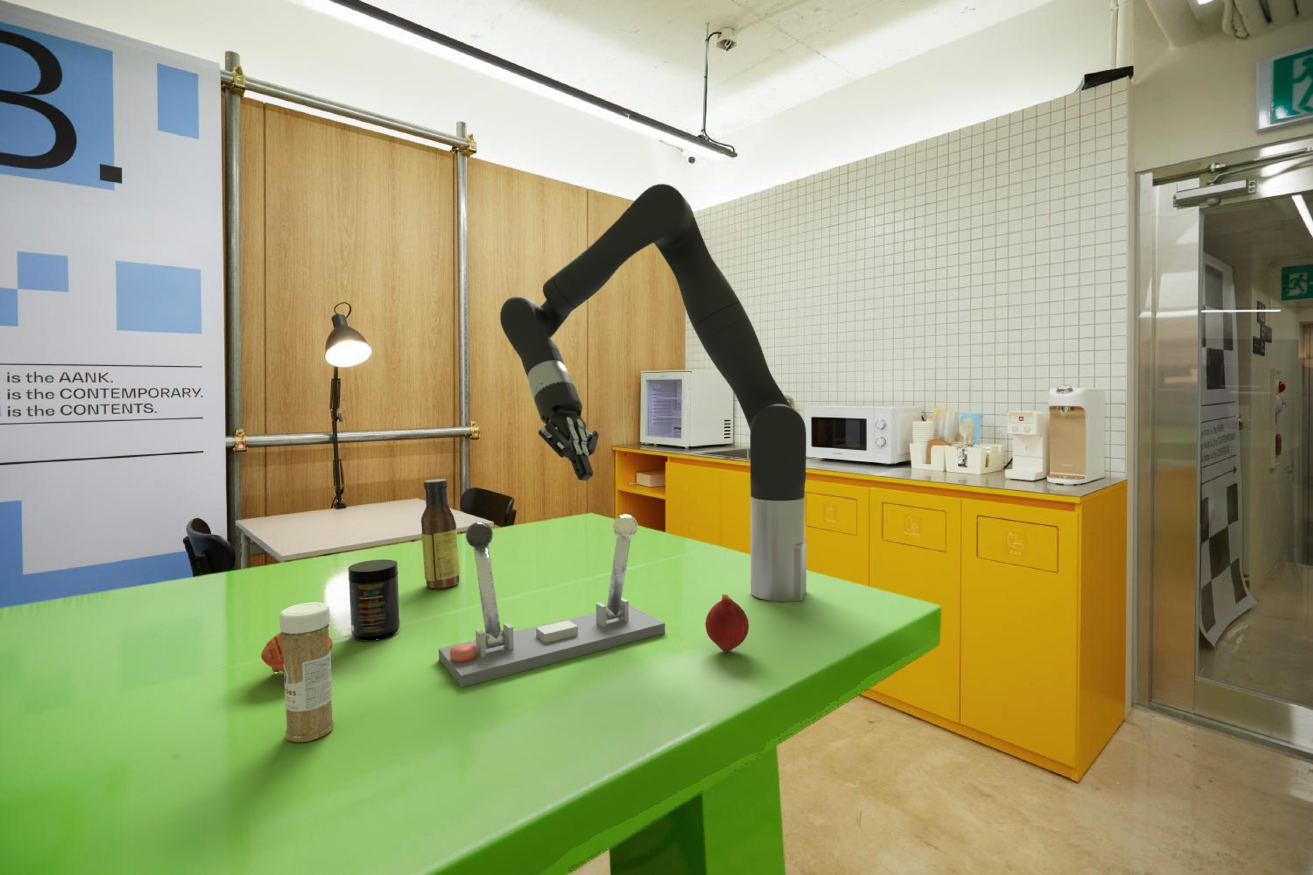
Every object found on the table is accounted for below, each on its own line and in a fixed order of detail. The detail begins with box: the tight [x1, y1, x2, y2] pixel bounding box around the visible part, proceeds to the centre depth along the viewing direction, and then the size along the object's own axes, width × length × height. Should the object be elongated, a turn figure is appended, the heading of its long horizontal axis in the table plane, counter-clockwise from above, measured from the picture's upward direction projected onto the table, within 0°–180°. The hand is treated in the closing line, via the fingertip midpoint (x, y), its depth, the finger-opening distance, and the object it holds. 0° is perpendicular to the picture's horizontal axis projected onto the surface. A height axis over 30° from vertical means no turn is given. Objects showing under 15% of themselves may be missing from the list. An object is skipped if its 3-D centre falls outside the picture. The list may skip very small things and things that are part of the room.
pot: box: [260, 630, 333, 673], centre depth 81 cm, size 8×8×7 cm
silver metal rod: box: [465, 521, 506, 649], centre depth 85 cm, size 4×4×17 cm
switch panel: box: [438, 597, 666, 688], centre depth 89 cm, size 10×30×4 cm, turn 124°
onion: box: [704, 593, 750, 653], centre depth 86 cm, size 6×6×8 cm
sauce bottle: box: [420, 478, 461, 590], centre depth 118 cm, size 7×6×20 cm
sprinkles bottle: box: [279, 601, 335, 743], centre depth 66 cm, size 5×5×14 cm
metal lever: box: [605, 514, 639, 620], centre depth 92 cm, size 4×4×17 cm
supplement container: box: [347, 559, 401, 641], centre depth 94 cm, size 7×7×10 cm
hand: (586, 478), depth 104 cm, fingers closed
